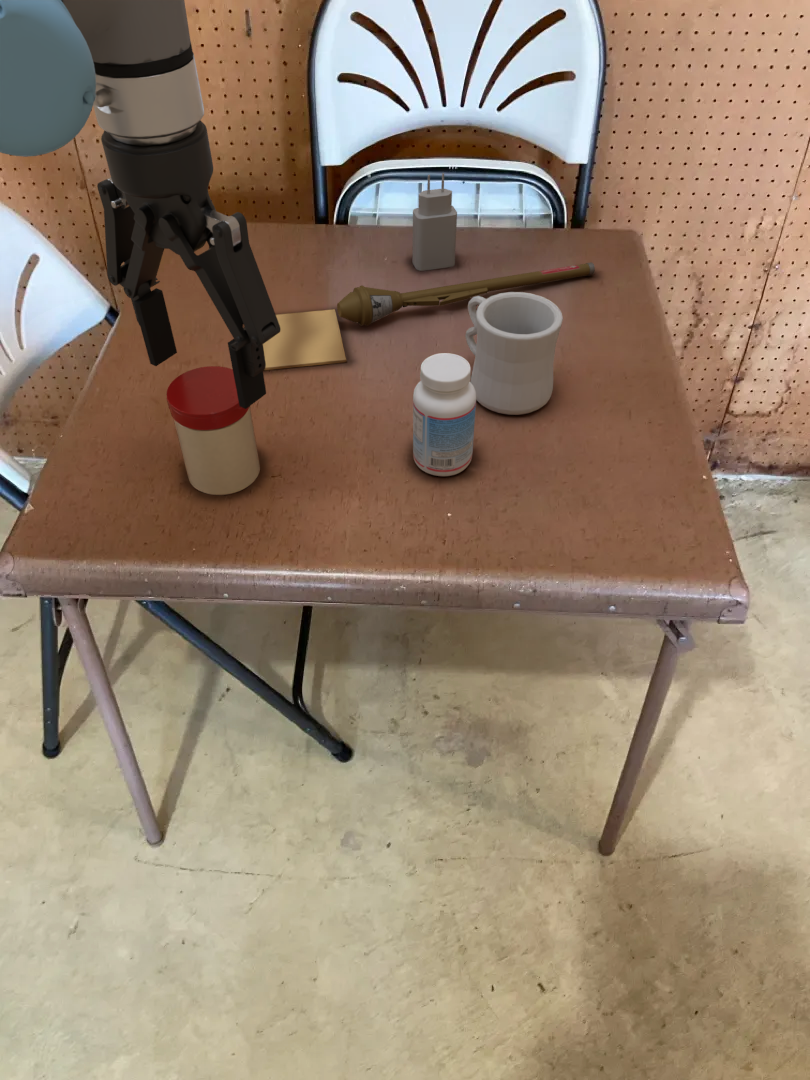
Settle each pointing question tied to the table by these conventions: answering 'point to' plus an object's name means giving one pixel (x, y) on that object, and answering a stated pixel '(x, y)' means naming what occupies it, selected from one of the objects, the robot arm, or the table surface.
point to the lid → (205, 398)
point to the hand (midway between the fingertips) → (207, 378)
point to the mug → (513, 350)
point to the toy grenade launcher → (442, 293)
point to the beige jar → (220, 456)
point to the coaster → (305, 341)
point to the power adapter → (434, 229)
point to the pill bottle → (444, 415)
